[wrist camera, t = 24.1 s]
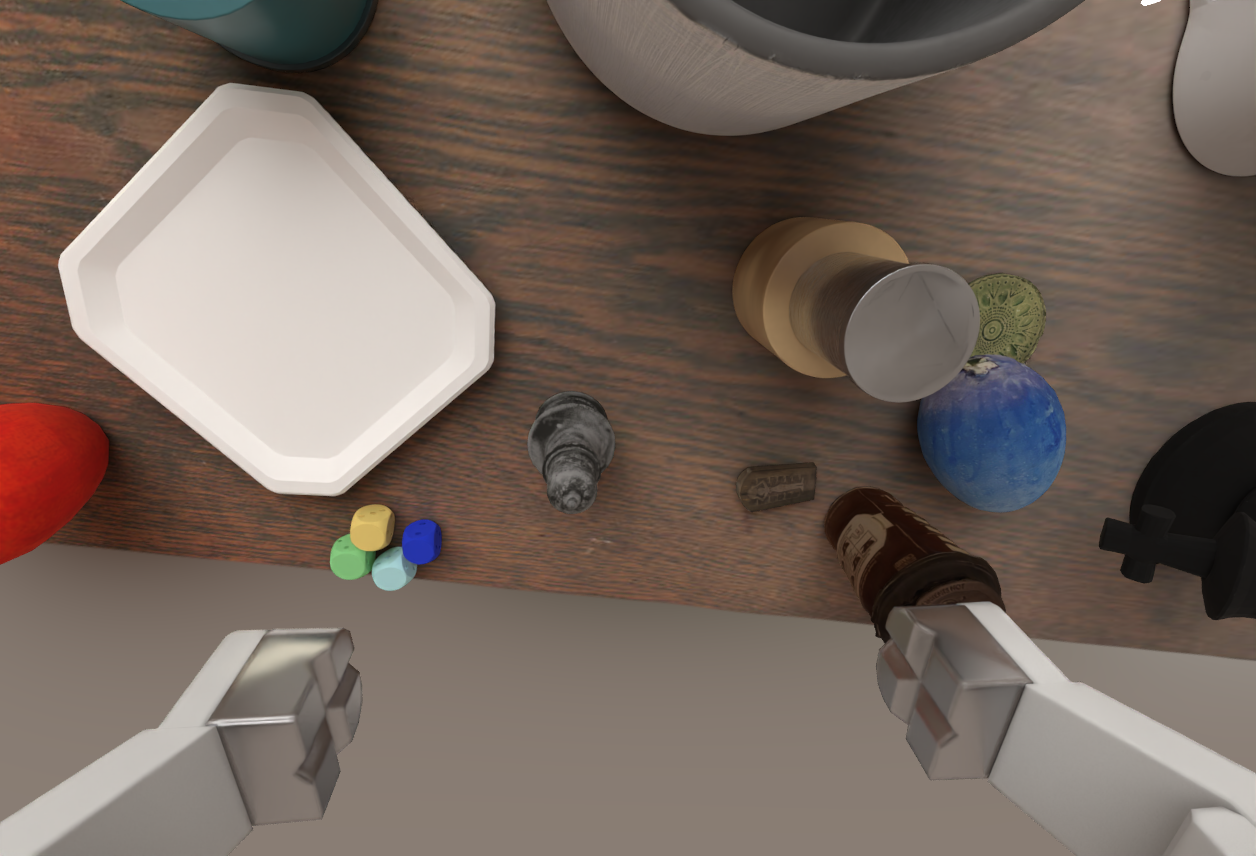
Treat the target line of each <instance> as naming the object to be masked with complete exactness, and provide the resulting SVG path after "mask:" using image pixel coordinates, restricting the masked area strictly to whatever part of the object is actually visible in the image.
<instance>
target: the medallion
mask: <svg viewBox="0 0 1256 856" xmlns="http://www.w3.org/2000/svg"><path fill="white" fill-rule="evenodd" d="M969 285H970V287H971V289H972V290H973V292H974V294H975V296H976V299H977V302H978V306H979V312H980V328H979V334H978V338H977V341H976V345H975V347H974V350H973V352H972V354H971V356H970V357H972V356H975V355H987V354H991V355H1002V356H1006V357H1010V358H1013V359H1015V360H1016V361H1017V362H1019V363H1022V364H1024V363H1025V361H1027V360H1028V358H1030V356H1029V355H1032V354H1033V352H1034V350H1035V349H1036V347H1037V344H1038V341H1039V338H1040V337H1041V336H1042V334H1043V331H1044V328H1045V322H1046V317H1045V316H1046V309H1045V304H1044V301H1043V298H1042V296H1041V293H1040V292H1039V290H1038V289H1037V287H1035V286H1034V285H1033V284H1032V282H1030V281H1028V280H1027V279H1025V278H1022V277H1019V276H1013V275H1008V274H1003V273H998V274H993V275H992V274H991V275H986V276H983V277H980V278H977V279H975V280H974V281H972V282H970V283H969Z"/></svg>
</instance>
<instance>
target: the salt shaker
mask: <svg viewBox="0 0 1256 856" xmlns="http://www.w3.org/2000/svg"><path fill="white" fill-rule="evenodd" d="M527 446H528V453H529V456H530V458H531V461H532V463H533V465H534V466H535V467H536V468H537V470H538V471H539V472H540V473H541V474H543V478H544V480H545V482H546V483H547V496H548V498H549V501H550V503H551V504H552V505H553V507H554V508H556V509H557V510H559V511H561V512H563V513H567V514H577V513H581V512H583V511H585V510H587V509H588V508H590V506H591V505H592V504H593V503H594V501H595V499H596V496H597V483H598V481H599V479H600V477H601V473H602V472H603V471H604V470H605V469H606V468H607V467H608V466H609V464H610V462H611V460H612V458H613V456H614V451H615V435H614V432H613V430H612V427H611V425H610V424H609V422H608V421H607V416H606V414H605V411H604V409H603V408H602V406H601V405H600V404H599V402H598V401H596V400H595V399H594V398H592V397H591V396H589V395H587V394H584V393H582V392H575V391H568V392H561V393H559V394H556V395H553V396H552V397H550V398H549V399H547V400H546V401H545V402H544V403H543V405H542V406H541V407H540V408H539V410H538V413H537V415H536V419H535V422H534V423H533V425H532V427H531V430H530V432H529V436H528V443H527Z"/></svg>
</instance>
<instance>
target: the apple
mask: <svg viewBox="0 0 1256 856" xmlns="http://www.w3.org/2000/svg"><path fill="white" fill-rule="evenodd" d="M108 461H109V439H108V438H107V436H106V435H105V433H104V432H103V430H102V429H101V427H100V426H99V425H98V424H97V423H95V422H94V421H93V420H91V419H90V418H89V417H87V416H86V415H85V414H82V413H80V412H77V411H75V410H72V409H70V408H67V407H63V406H56V405H48V404H41V403H12V404H2V405H0V564H3V563H5V562H7V561H10V560H12V559H14V558H17V557H19V556H21V555H23V554H26V553H28V552H30V551H32V550H34V549H35V548H36V547H38V546H39V545H41V544H42V543H43V542H45V541H46V540H47V539H49V538H50V537H51V536H52V535H53V534H55V533H56V532H57V531H58V530H59V529H61V528H62V527H63V526H64V525H65V524H67V523H68V522H69V521H70V520H71V519H72V518H73V517H74V516H75V515H76V514H77V512H78V511H79V510H80V509H81V508H82V507H83V506H84V504H85V503H86V502H87V501H88V500H89V499H90V498H91V496H92V495H93V494H94V492H95V490H96V489H97V487H98V485H99V484H100V482H101V480H102V479H103V477H104V474H105V471H106V468H107V466H108Z"/></svg>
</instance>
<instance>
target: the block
mask: <svg viewBox="0 0 1256 856" xmlns="http://www.w3.org/2000/svg"><path fill="white" fill-rule="evenodd" d="M816 468H817V467H816V465H815V464H814V463H799V464H787V465H770V466H757V467H749V468H747V469H746V470H745V471H743V472H742V473H741V474H740V475H739V477H738V479H737V482H736V491H737V494H738V496H739V498H740V500H741V502H742V504H743V505H744V507H745V508H746V509H747V510H749V511H750V512H754V511H755V512H756V511H760V510H766V509H770V508H775V507H780V506H785V505H790V504H795V503H800V502H804V501H810V500H814V494H815V484H816Z"/></svg>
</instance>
